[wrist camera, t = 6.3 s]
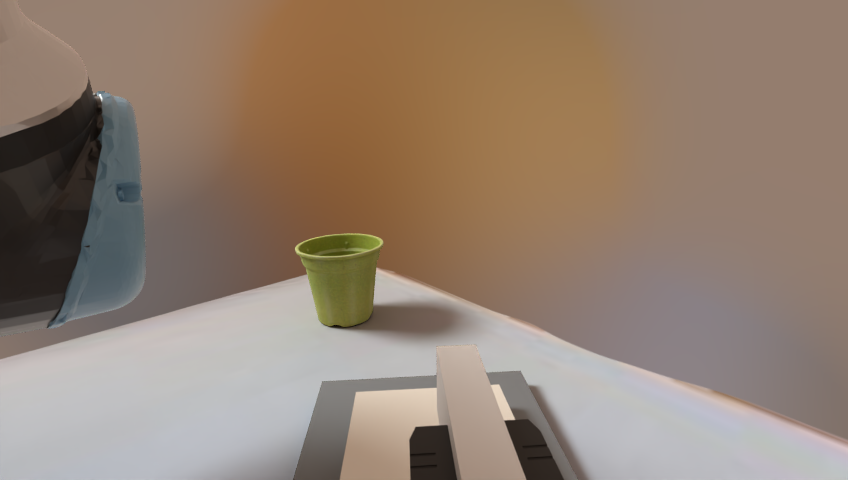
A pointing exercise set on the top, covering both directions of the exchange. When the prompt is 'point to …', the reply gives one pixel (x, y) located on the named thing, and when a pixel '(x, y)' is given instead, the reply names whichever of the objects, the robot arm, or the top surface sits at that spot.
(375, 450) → the tile
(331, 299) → the plant pot
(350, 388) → the board
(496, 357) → the top surface
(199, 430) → the top surface
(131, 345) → the top surface
